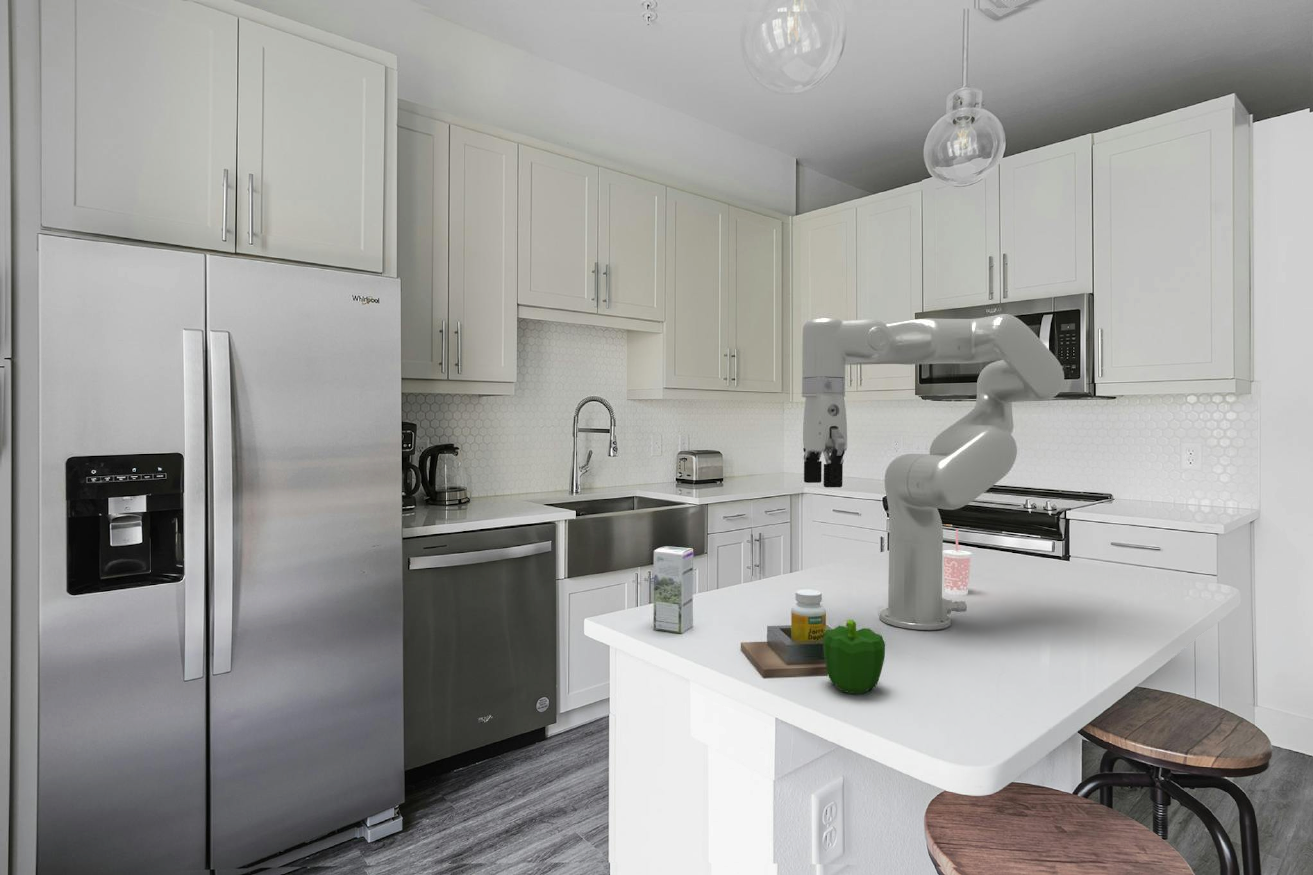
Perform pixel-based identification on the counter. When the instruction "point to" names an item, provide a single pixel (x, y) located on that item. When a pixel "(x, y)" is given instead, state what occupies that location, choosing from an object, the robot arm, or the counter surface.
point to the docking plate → (777, 662)
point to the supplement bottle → (808, 616)
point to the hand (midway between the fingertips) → (822, 484)
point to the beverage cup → (956, 570)
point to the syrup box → (673, 589)
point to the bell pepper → (853, 657)
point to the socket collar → (794, 647)
